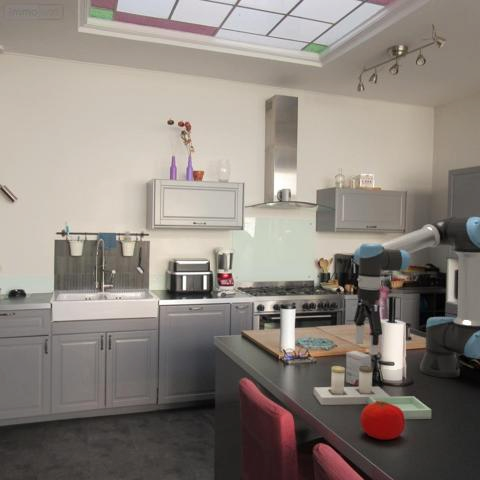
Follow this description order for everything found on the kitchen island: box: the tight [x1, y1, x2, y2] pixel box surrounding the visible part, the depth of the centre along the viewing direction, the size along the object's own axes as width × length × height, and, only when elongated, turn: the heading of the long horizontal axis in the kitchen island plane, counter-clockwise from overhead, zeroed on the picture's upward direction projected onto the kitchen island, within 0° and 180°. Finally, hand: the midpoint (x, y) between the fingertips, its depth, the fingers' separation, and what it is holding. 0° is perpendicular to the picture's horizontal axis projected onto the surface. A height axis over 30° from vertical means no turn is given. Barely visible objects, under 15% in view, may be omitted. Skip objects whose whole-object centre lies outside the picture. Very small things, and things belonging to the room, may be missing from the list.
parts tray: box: [368, 395, 432, 420], centre depth 162 cm, size 16×12×3 cm
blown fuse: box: [358, 366, 374, 395], centre depth 173 cm, size 5×5×11 cm
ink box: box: [345, 350, 372, 387], centre depth 188 cm, size 9×5×12 cm, turn 33°
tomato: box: [360, 401, 406, 441], centre depth 143 cm, size 11×13×10 cm
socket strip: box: [313, 365, 391, 406], centre depth 173 cm, size 24×10×11 cm, turn 97°
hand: (366, 348), depth 172 cm, fingers open, 13 cm apart
